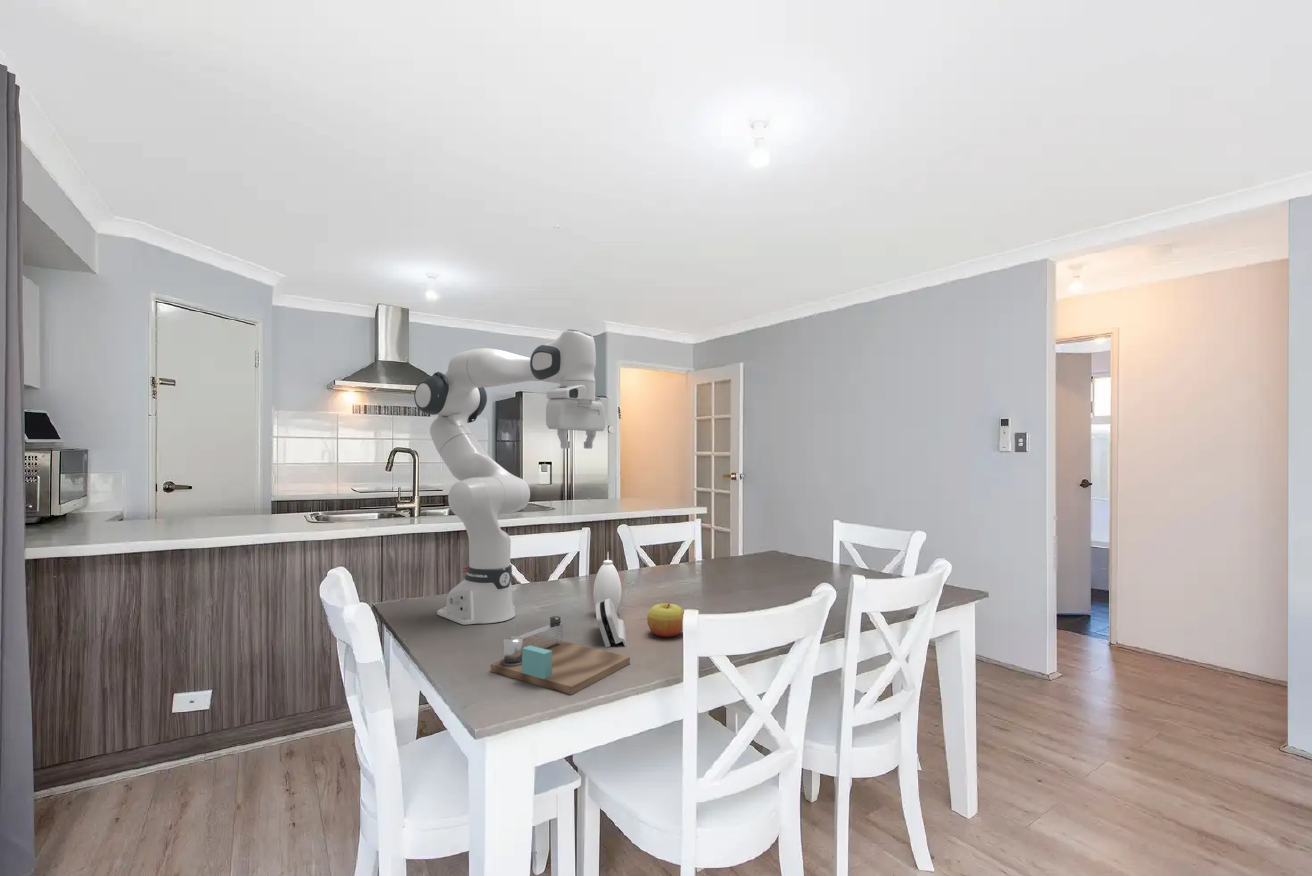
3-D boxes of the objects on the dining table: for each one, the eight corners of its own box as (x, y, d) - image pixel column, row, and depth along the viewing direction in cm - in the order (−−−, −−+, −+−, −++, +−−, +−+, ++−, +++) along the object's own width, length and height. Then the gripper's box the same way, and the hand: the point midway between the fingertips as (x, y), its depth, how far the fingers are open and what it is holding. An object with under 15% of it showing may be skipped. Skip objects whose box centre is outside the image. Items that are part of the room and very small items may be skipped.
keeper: (521, 672, 123) (522, 648, 123) (529, 669, 125) (529, 645, 125) (544, 679, 120) (544, 653, 120) (551, 675, 122) (552, 650, 122)
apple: (683, 641, 149) (684, 609, 149) (644, 639, 150) (644, 607, 151) (686, 629, 159) (686, 599, 159) (649, 627, 160) (650, 597, 160)
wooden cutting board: (490, 671, 128) (490, 662, 128) (553, 645, 145) (553, 637, 145) (571, 694, 116) (571, 685, 116) (629, 663, 133) (629, 655, 134)
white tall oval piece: (588, 613, 173) (589, 550, 173) (611, 609, 177) (612, 548, 178) (602, 620, 166) (603, 554, 167) (626, 616, 171) (627, 552, 171)
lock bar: (513, 663, 127) (513, 636, 127) (499, 659, 129) (499, 633, 129) (565, 641, 141) (566, 617, 141) (552, 638, 143) (553, 614, 143)
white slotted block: (626, 646, 145) (613, 607, 145) (607, 653, 144) (594, 614, 144) (625, 626, 161) (613, 590, 161) (608, 632, 161) (596, 596, 161)
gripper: (591, 397, 164) (591, 448, 163) (541, 390, 146) (540, 448, 146) (611, 396, 160) (610, 448, 160) (562, 390, 143) (561, 448, 143)
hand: (576, 448), depth 153 cm, fingers open, 8 cm apart
